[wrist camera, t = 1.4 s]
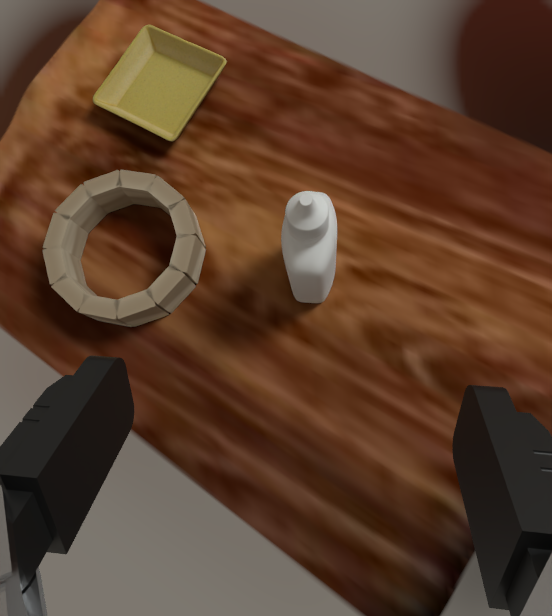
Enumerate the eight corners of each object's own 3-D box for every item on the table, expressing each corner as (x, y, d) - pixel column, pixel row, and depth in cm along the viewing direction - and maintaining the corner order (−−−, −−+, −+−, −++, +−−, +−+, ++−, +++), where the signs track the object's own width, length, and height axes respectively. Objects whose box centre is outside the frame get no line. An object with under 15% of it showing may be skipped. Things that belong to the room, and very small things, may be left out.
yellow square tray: (100, 115, 42) (88, 100, 40) (153, 39, 44) (145, 21, 42) (180, 156, 41) (172, 142, 39) (233, 76, 42) (229, 58, 40)
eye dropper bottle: (268, 283, 37) (241, 221, 25) (309, 225, 38) (301, 138, 26) (316, 314, 36) (310, 264, 24) (357, 254, 37) (371, 177, 25)
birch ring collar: (221, 296, 37) (212, 286, 34) (82, 345, 37) (61, 338, 34) (181, 170, 40) (170, 151, 37) (53, 216, 40) (31, 200, 37)
